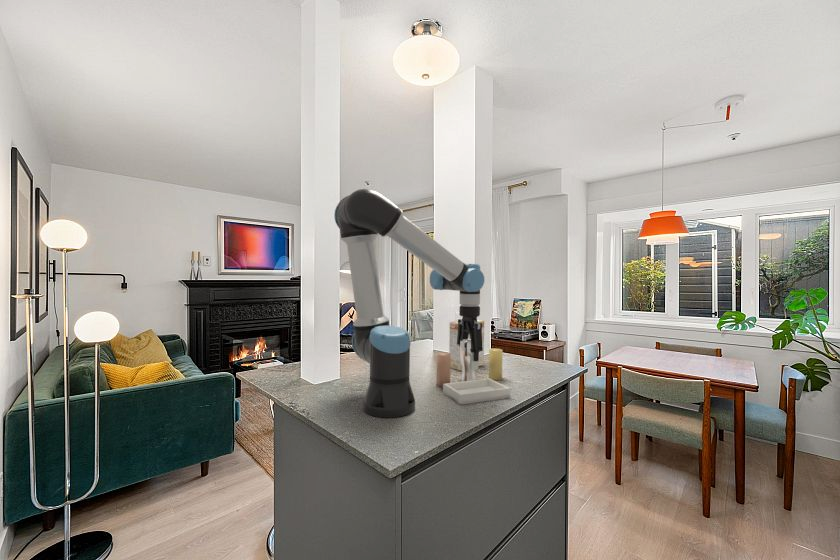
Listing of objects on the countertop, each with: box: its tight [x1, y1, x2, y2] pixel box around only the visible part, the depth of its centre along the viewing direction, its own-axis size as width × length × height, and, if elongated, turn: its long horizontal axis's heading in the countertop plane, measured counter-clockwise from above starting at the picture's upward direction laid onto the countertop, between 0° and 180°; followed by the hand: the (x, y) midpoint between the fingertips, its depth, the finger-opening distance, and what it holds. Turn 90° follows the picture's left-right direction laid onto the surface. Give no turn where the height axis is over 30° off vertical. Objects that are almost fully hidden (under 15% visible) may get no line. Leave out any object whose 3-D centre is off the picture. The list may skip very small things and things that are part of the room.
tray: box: [442, 377, 511, 405], centre depth 122 cm, size 18×12×3 cm, turn 113°
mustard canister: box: [488, 347, 504, 381], centre depth 141 cm, size 5×5×11 cm
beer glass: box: [460, 339, 478, 382], centre depth 138 cm, size 7×7×15 cm
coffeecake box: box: [448, 319, 485, 372], centre depth 159 cm, size 15×7×20 cm, turn 130°
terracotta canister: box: [435, 352, 452, 388], centre depth 132 cm, size 5×5×11 cm
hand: (468, 367), depth 138 cm, fingers open, 7 cm apart
